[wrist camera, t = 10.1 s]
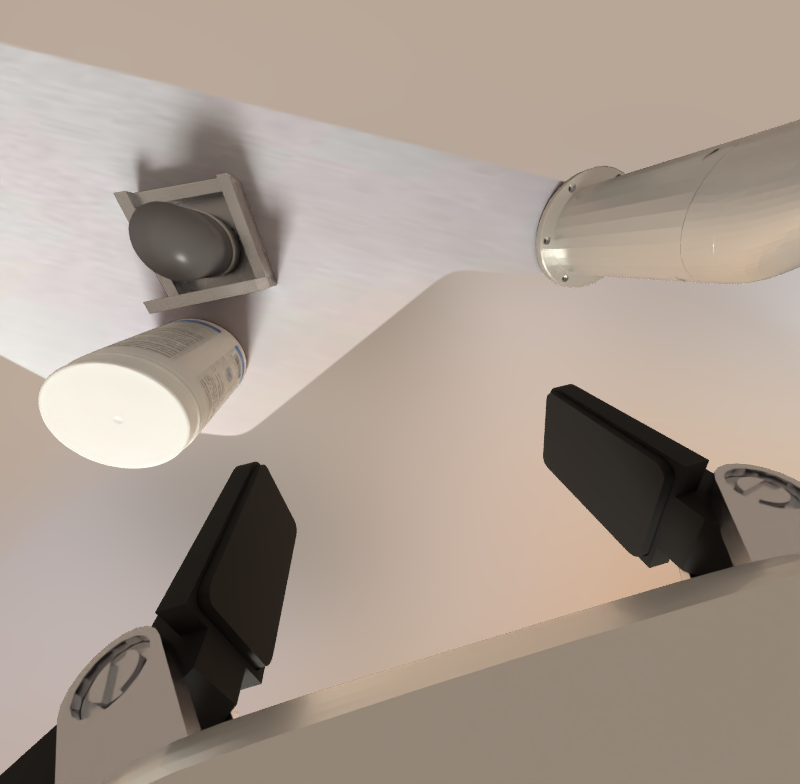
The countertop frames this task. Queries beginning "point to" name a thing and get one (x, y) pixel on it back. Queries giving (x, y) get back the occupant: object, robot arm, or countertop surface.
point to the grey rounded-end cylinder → (182, 242)
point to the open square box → (233, 209)
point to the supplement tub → (143, 393)
